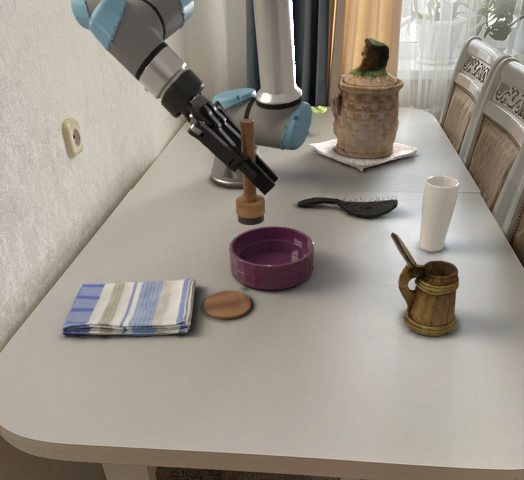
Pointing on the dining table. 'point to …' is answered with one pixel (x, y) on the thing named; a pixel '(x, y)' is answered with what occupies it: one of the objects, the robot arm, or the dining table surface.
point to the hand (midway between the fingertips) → (271, 186)
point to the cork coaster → (227, 305)
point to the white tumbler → (437, 211)
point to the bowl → (271, 257)
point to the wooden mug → (428, 293)
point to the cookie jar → (366, 113)
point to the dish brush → (250, 203)
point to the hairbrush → (356, 206)
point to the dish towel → (132, 308)
